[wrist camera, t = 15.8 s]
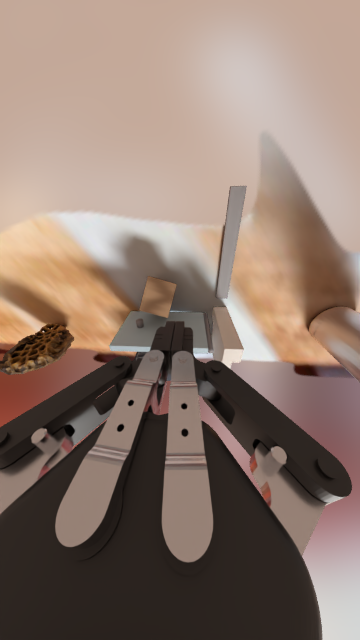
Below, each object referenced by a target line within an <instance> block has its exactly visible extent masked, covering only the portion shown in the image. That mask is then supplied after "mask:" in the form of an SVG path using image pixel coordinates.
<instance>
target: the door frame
mask: <svg viewBox="0 0 360 640" xmlns="http://www.w3.org/2000/svg"><path fill="white" fill-rule="evenodd" d="M246 187H247V186H231V187H230V191H229V199H228V207H227V215H226V222H225V230H224V238H223V246H222V254H221V261H220V269H219V277H218V285H217V293H216V298H227V297H228V291H229V286H230V280H231V274H232V268H233V262H234V257H235V251H236V245H237V239H238V233H239V228H240V222H241V216H242V210H243V204H244V199H245V193H246ZM212 320H213V330H212V337H211V338H212V343H213V349H214V352H213V359H214V360H216V361H220V362H222V363H224V364H225V365H226V366H227V367H228V368H231V364H232V362H235V363H240V361H241V358H242V354H243V351H244V349H243V346H242V344H241V341H240V339H239V336H238V334H237V332H236V329H235V327H234V324H233V322H232V320H231V317H230V315H229V312H228V310H227V307H213V314H212Z"/></svg>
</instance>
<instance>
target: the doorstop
mask: <svg viewBox="0 0 360 640" xmlns="http://www.w3.org/2000/svg"><path fill="white" fill-rule="evenodd" d="M176 285H177V284H174V283H171V282H168V281H164V280H161V279H157V278H154V277H150V276H148V278H147V282H146V286H145V290H144V294H143V297H142V301H141V305H140V309H139V310H140V311H143V312H147V313H151V314H155V315H158V316H162V317H166V318H168V315H169V311H170V308H171V304H172V300H173V297H174V293H175V289H176Z"/></svg>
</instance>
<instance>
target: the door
mask: <svg viewBox="0 0 360 640" xmlns="http://www.w3.org/2000/svg"><path fill="white" fill-rule="evenodd" d="M166 321H175V322H176V321H185V327H191V329H192V330H193V353H206V354H208V352H209V353H213V352H214V349H213V343H212V338H211V332H210V327H209V322H208V316H207V313H203V312H169V315H168V318H166V317H162V316H158V315H155V314H151V313H147V312H143V311H131V312H130V313H129V315H128V316H127V318H126V320H125V321H124V323H123V324H122V326H121V328H120V329H119V331H118V332H117V334H116V336H115V337H114V339H113V340H112V342H111V344H110V345H109V347H110V350H111V351H135V352H149V351H150V348H151V345H152V342H153V339H154V336H155V333H156V330H157V329H158V328H159V327H165V325H166Z"/></svg>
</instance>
